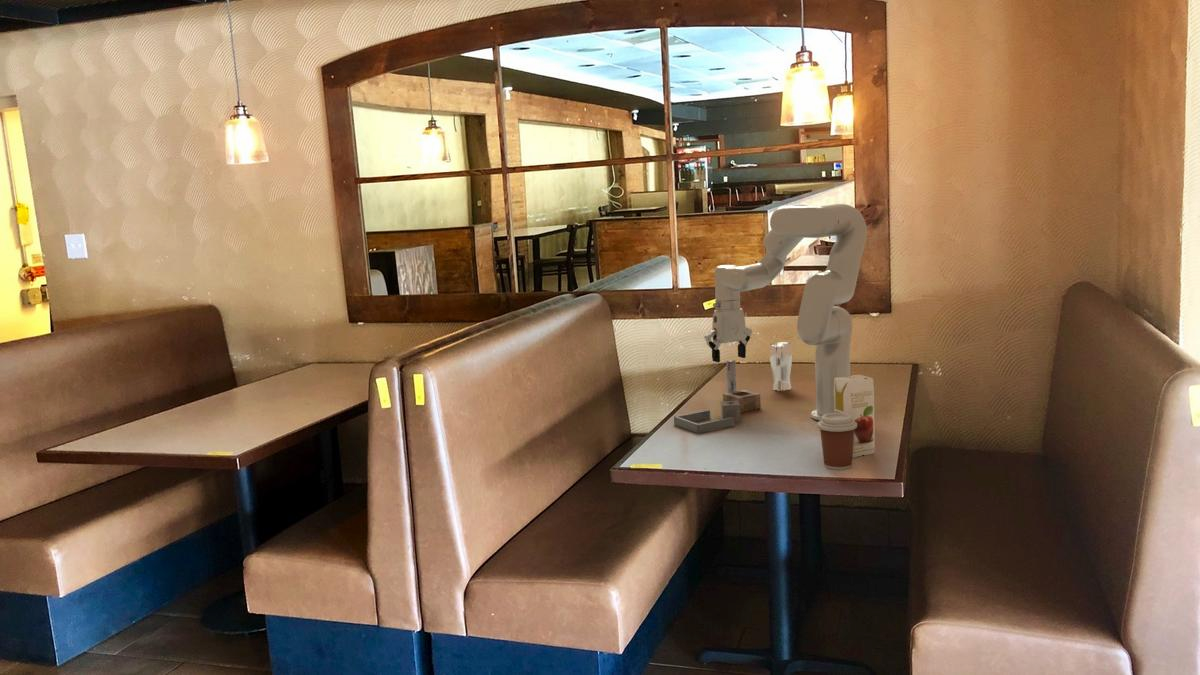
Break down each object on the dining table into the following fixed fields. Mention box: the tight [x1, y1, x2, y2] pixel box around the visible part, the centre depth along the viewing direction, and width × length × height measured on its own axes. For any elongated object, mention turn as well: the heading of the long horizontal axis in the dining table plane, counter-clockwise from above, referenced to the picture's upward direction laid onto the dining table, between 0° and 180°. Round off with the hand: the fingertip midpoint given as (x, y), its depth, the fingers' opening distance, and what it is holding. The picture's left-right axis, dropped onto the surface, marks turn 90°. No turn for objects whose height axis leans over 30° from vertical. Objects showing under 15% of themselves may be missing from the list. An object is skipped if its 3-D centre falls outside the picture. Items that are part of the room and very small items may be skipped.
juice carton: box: [834, 374, 876, 459], centre depth 224 cm, size 8×9×19 cm
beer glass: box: [769, 342, 793, 392], centre depth 298 cm, size 7×7×15 cm
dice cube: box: [720, 401, 742, 422], centre depth 265 cm, size 5×5×5 cm
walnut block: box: [722, 389, 762, 413], centre depth 278 cm, size 8×8×4 cm
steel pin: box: [725, 359, 738, 393], centre depth 286 cm, size 3×3×13 cm
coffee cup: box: [816, 413, 857, 471], centre depth 216 cm, size 9×9×12 cm
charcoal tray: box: [673, 409, 735, 434], centre depth 261 cm, size 12×12×2 cm
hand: (729, 359), depth 285 cm, fingers open, 9 cm apart
